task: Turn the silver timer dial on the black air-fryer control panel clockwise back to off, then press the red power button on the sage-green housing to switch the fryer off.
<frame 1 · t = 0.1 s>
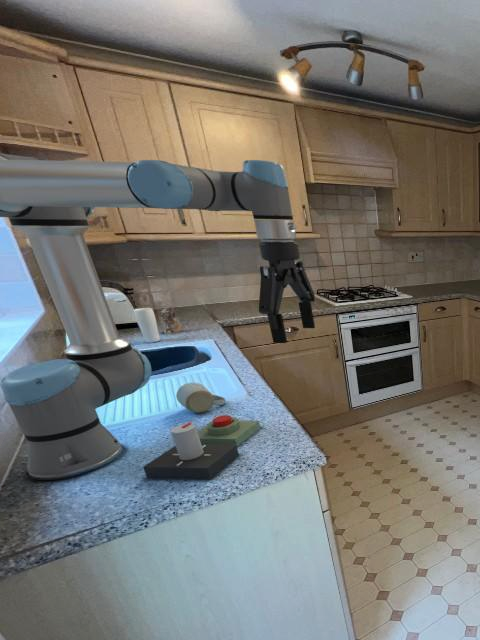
hand: (295, 334, 96), 28 cm above the kitchen counter, tool pointing down, fingers open, 13 cm apart
timer dial: (187, 441, 91), point 7 cm above the kitchen counter, hinge at 90.0°
drinking glass: (153, 341, 186), on the kitchen counter
ceramic mug: (204, 408, 122), on the kitchen counter
power button: (222, 421, 105), point 4 cm above the kitchen counter, slide at 0.1 cm
figurine: (173, 332, 202), on the kitchen counter
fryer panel: (195, 466, 93), on the kitchen counter
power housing: (226, 436, 106), on the kitchen counter
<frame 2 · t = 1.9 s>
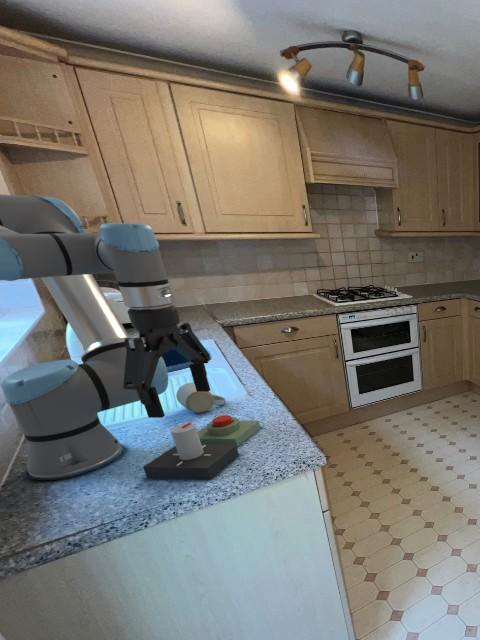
hand: (182, 403, 88), 16 cm above the kitchen counter, tool pointing down, fingers open, 13 cm apart
nothing on the kitchen counter moved.
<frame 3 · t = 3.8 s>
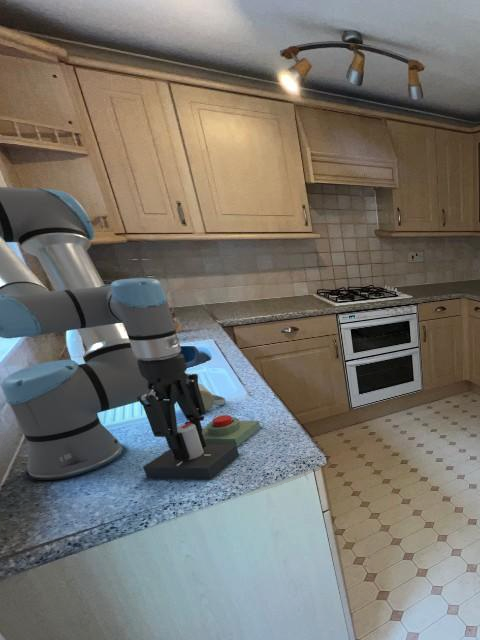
hand: (191, 452, 92), 4 cm above the kitchen counter, tool pointing down, fingers closed on timer dial, 4 cm apart
timer dial: (187, 441, 91), point 7 cm above the kitchen counter, hinge at 90.0°, touching gripper
everything else where it was.
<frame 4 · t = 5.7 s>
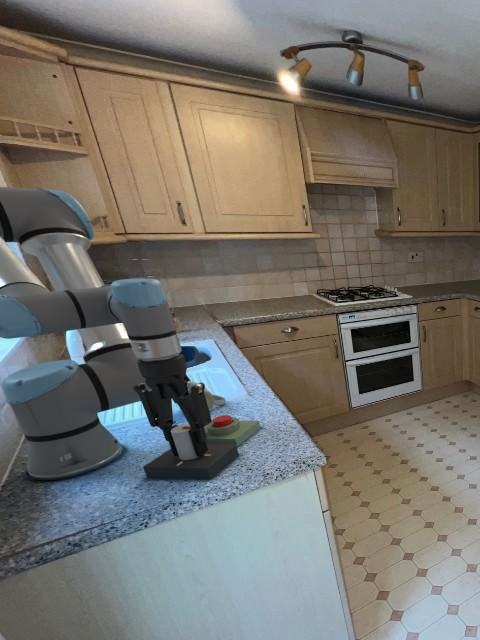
hand: (191, 452, 92), 4 cm above the kitchen counter, tool pointing down, fingers open, 4 cm apart
timer dial: (187, 441, 91), point 7 cm above the kitchen counter, hinge at 0.5°
everything else where it was.
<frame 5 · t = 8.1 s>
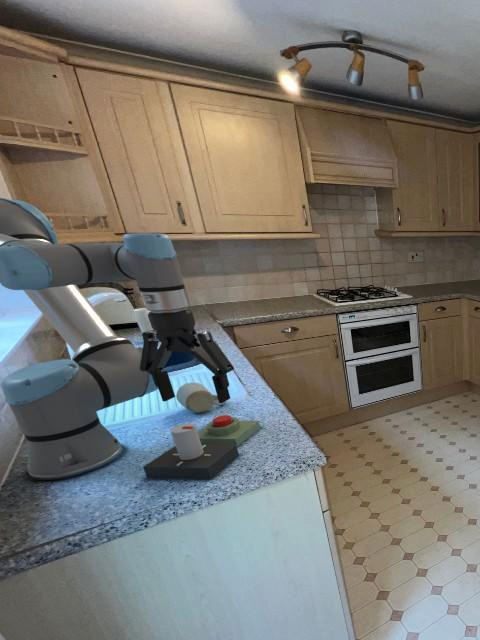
hand: (197, 400, 94), 14 cm above the kitchen counter, tool pointing down, fingers open, 13 cm apart
nothing on the kitchen counter moved.
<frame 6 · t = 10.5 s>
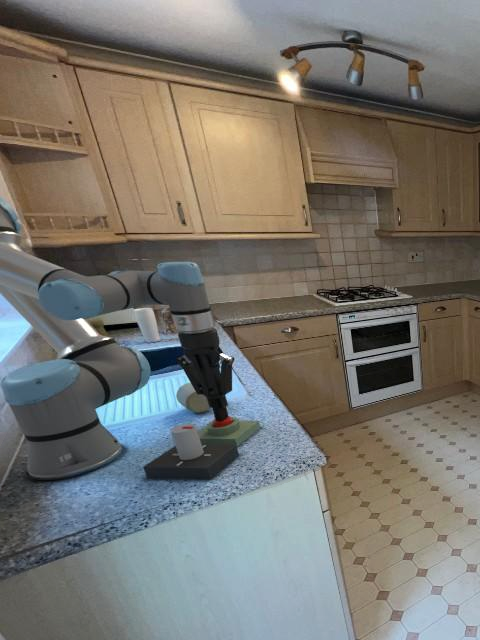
hand: (222, 418, 104), 5 cm above the kitchen counter, tool pointing down, fingers closed
power button: (222, 422, 105), point 4 cm above the kitchen counter, slide at -0.2 cm, touching gripper
everything else where it was.
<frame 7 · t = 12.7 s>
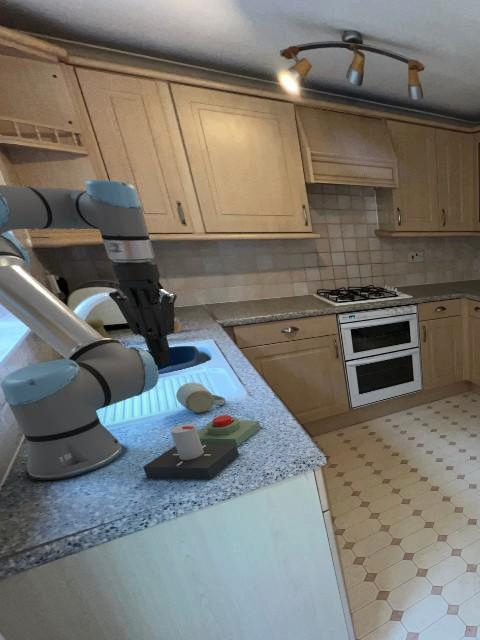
hand: (163, 363, 96), 21 cm above the kitchen counter, tool pointing down, fingers closed
power button: (222, 421, 105), point 4 cm above the kitchen counter, slide at 0.1 cm
everything else where it was.
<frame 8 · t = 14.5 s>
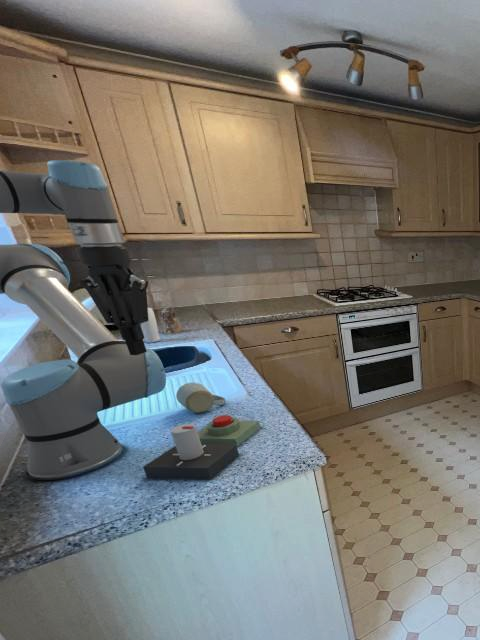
hand: (138, 353, 93), 24 cm above the kitchen counter, tool pointing down, fingers closed
nothing on the kitchen counter moved.
at the end: timer dial at +1° (first picture: +90°); power button pushed in 1.0 cm at the most during the clip, back to where it started at the end; power button slide at 0.1 cm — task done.
